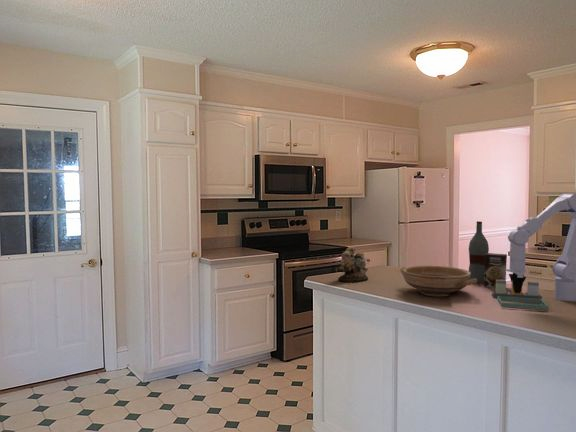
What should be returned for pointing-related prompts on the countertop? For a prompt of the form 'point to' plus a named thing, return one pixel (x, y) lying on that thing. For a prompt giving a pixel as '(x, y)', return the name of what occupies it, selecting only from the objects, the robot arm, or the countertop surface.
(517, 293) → the block
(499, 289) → the block
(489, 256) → the coffee box
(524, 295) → the fuse holder
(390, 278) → the countertop surface
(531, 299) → the parts tray
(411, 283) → the ceramic bowl
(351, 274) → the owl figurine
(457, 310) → the countertop surface
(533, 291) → the grey rectangular block
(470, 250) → the bottle
